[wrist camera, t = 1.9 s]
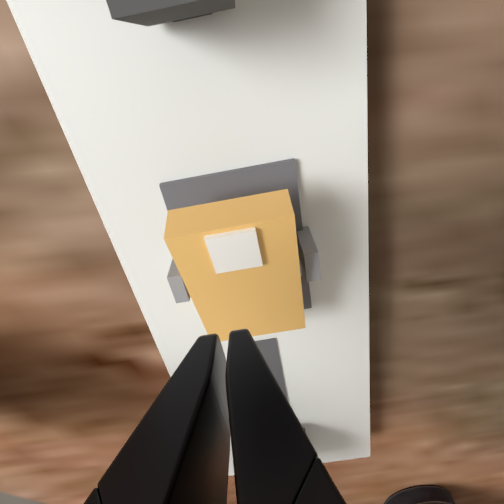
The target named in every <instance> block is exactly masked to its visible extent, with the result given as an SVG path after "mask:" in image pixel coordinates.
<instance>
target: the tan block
mask: <svg viewBox="0 0 504 504" xmlns="http://www.w3.org/2000/svg"><path fill="white" fill-rule="evenodd" d="M164 240H165V243H166V245H167V247H168V249H169V251H170V253H171V256H172V258H173V260H174V262H175V264H176V266H177V269H178V271H179V273H180V275H181V277H182V279H183V282H184V284H185V286H186V288H187V290H188V292H189V295H190V297H191V299H192V301H193V303H194V305H195V308H196V310H197V312H198V314H199V316H200V318H201V321H202V323H203V325H204V327H205V329H206V331H207V334H214V333H215V334H217V335H218V336H219V338H220V341H227V340H229V333H230V332H231V331H233V330H239V329H248V330H249V332H250V334H251V335H252V336H258V335H265V334H271V333H277V332H284V331H290V330H296V329H303V328H306V326H305V316H304V305H303V295H302V285H301V276H302V271H301V265H300V260H299V254H298V244H297V234H296V224H295V215H294V211H293V207H292V203H291V200H290V196H289V192H288V189H284V190H278V191H272V192H267V193H261V194H256V195H250V196H245V197H239V198H234V199H228V200H223V201H217V202H212V203H206V204H200V205H195V206H189V207H184V208H178V209H173V210H168V213H167V219H166V226H165V233H164Z"/></svg>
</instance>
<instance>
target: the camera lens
mask: <svg viewBox="0 0 504 504" xmlns="http://www.w3.org/2000/svg"><path fill="white" fill-rule="evenodd" d="M384 504H455V502H454V500H453V498H452V496H451V495H450V493H449V492H448V491H447V490H446V489H444V488H441V487H437V486H418V487H412V488H408V489H405V490H402V491H400V492H398V493H396V494H394V495H393V496H391V497H390V498H389V499H388V500H387V501H386V502H385V503H384Z"/></svg>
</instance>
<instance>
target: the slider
mask: <svg viewBox="0 0 504 504" xmlns="http://www.w3.org/2000/svg"><path fill="white" fill-rule="evenodd" d="M106 2H107V5H108V8H109V11H110V14H111V17H112V19H114V20H119V21H124V22H128V23H133V24H138V25H143V26H153V25H158V24H162V23H167V22H172V21H176V20H181V19H186V18H191V17H195V16H200V15H205V14H209V13H214V12H219V11H224V10H228V9H233V8H235V0H106Z"/></svg>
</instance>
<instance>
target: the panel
mask: <svg viewBox="0 0 504 504" xmlns="http://www.w3.org/2000/svg"><path fill="white" fill-rule="evenodd" d="M6 1H7V3H8V5H9V8H10V10H11V12H12V14H13V17H14V19H15V21H16V24H17V26H18V28H19V31H20V33H21V35H22V37H23V40H24V42H25V44H26V47H27V49H28V51H29V53H30V56H31V58H32V60H33V63H34V65H35V67H36V70H37V72H38V74H39V76H40V79H41V81H42V83H43V86H44V88H45V90H46V92H47V95H48V97H49V99H50V102H51V104H52V106H53V109H54V111H55V113H56V115H57V118H58V120H59V122H60V125H61V127H62V129H63V131H64V134H65V136H66V138H67V141H68V143H69V145H70V148H71V150H72V152H73V154H74V157H75V159H76V161H77V164H78V166H79V168H80V171H81V173H82V175H83V177H84V180H85V182H86V184H87V187H88V189H89V191H90V193H91V196H92V198H93V200H94V203H95V205H96V207H97V210H98V212H99V214H100V216H101V219H102V221H103V223H104V226H105V228H106V230H107V232H108V235H109V237H110V239H111V242H112V244H113V246H114V249H115V251H116V253H117V255H118V258H119V260H120V262H121V265H122V267H123V269H124V271H125V274H126V276H127V278H128V281H129V283H130V285H131V288H132V290H133V292H134V294H135V297H136V299H137V301H138V304H139V306H140V308H141V310H142V313H143V315H144V317H145V320H146V322H147V324H148V327H149V329H150V331H151V333H152V336H153V338H154V340H155V343H156V345H157V347H158V349H159V352H160V354H161V356H162V359H163V361H164V363H165V366H166V368H167V370H168V372H169V375H170V377H171V376H172V375H173V373H174V372H175V370H176V369H177V367H178V366H179V365H180V363H181V362H182V360H183V359H184V357H185V356H186V354H187V353H188V351H189V350H190V349H191V347H192V346H193V344H194V343H195V341H196V340H197V338H198V337H200V336H202V335H208V334H207V331H206V329H205V327H204V325H203V323H202V321H201V318H200V316H199V314H198V312H197V310H196V308H195V305H194V303H193V301H192V299H191V297H190V295H189V292H188V290H187V288H186V286H185V284H184V282H183V279H182V277H181V275H180V273H179V271H178V269H177V266H176V264H175V262H174V260H173V258H172V256H171V253H170V251H169V249H168V247H167V245H166V243H165V240H164V233H165V226H166V219H167V213H168V210H173V209H178V208H184V207H189V206H195V205H200V204H206V203H212V202H217V201H223V200H228V199H234V198H239V197H245V196H250V195H256V194H261V193H267V192H272V191H278V190H284V189H288V192H289V196H290V200H291V203H292V207H293V211H294V215H295V224H296V234H297V244H298V254H299V260H300V265H301V271H302V276H301V285H302V295H303V305H304V316H305V326H306V328H303V329H296V330H290V331H284V332H277V333H271V334H265V335H258V336H252V337H253V339H254V341H255V343H256V344H257V346H258V348H259V350H260V352H261V353H262V355H263V357H264V359H265V361H266V362H267V364H268V366H269V368H270V370H271V371H272V373H273V375H274V377H275V379H276V380H277V382H278V384H279V386H280V388H281V389H282V391H283V393H284V395H285V397H286V398H287V400H288V402H289V404H290V406H291V407H292V409H293V411H294V413H295V415H296V416H297V418H298V420H299V422H300V424H301V425H302V427H303V428H305V431H306V434H307V436H308V438H309V440H310V442H311V443H312V445H313V447H314V449H315V451H316V452H317V454H318V458H320V459H321V461H322V463H326V462H334V461H341V460H348V459H356V458H363V457H370V363H369V246H368V129H367V11H366V0H235V8H233V9H228V10H224V11H219V12H214V13H209V14H205V15H200V16H195V17H191V18H186V19H181V20H176V21H172V22H167V23H162V24H158V25H153V26H143V25H138V24H133V23H128V22H124V21H119V20H114V19H112V17H111V14H110V11H109V8H108V5H107V2H106V0H6ZM221 344H222V348H223V351H224V354H225V358H226V361H227V351H228V340H227V341H221ZM230 475H234V466H233V455H232V445H231V435H230V457H229V472H228V476H230Z"/></svg>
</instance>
